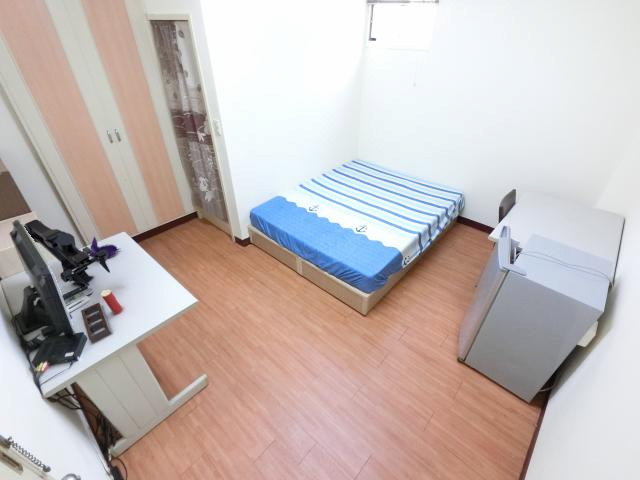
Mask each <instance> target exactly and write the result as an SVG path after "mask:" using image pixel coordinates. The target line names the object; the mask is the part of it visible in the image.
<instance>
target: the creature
mask: <svg viewBox="0 0 640 480" xmlns="http://www.w3.org/2000/svg"><path fill="white" fill-rule="evenodd" d="M90 250H91V251H92V253H90V254H89V257H90V258H94V257H95V253H97V252H99V251H101V250H105V251H106V252H107V253H108V258H107V259H109V258H112V257H113V256H115V255H116V253H117V252H118V251H119V250H120V248H118V246H116V245H115V244H114V243H113V244H112V243H111V244H110V243H109V244H108V243H106V244H102V245H101V246H99V245H98V240H97V239H96V237H95V236H93V239H92V242H91V245H90Z"/></svg>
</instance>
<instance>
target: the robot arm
mask: <svg viewBox="0 0 640 480" xmlns="http://www.w3.org/2000/svg"><path fill="white" fill-rule="evenodd" d="M23 227H25V228H26V230H27V231H28V233H29V234H30V235H31V237H32V238H33V239H34V241H35V242H34V243H38V244H39V245H41V246H42V247H43V248H44V249H45V250H46V251H47V252H49V254H51V255H52V256H53V257H54V258H55V259H57V261H59V262H60V265H61V268H62V272H60V274H59V276H60V279H61V280H62V281H63V282H64V283H68V282H70V283H71V282H72V285H73V286H79V287H84V286H88V287H89V286H90V281H91V280H92V279H93V278H94V276H91V275H89V274H88V272H86V271H88V270H89V266H91V265H92V264H94V263H96V262H98V263H99V265H100V266H101V267H102V268H103V269H104V270H105V271H106V272H107V273H109V274H110V273H111V271H110V268H109V266H108V264H107V262H106V261H107V259H109V258H108V253H107V252H106V251H105V250H101V251H99V252H97V253H95V257H90V256H89V254H90V253H92V251H91V248H89V246H85V247H83V248H82V250H80V249H79V248H78V247H77V246H76V245H77V244H76V240H75V237H74V235H73V234H71V233H70V232H69V233H68V232H65V231H64V230H63V231H62V230H60V229H58V228H55V229H54V228H53V229H52V228H50V227H49V226H47V225H45V224H44V223H43V222H42V221H41V220H39V219H38V218H36V219H32V220H30V221H28V222H26V223H25V224H24V225H23Z"/></svg>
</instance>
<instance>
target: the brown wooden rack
mask: <svg viewBox="0 0 640 480" xmlns="http://www.w3.org/2000/svg"><path fill="white" fill-rule="evenodd" d="M94 312H95V313H94ZM92 313H93V314H92ZM80 314H81V317H82V320H83V323H84V327H85V330H86V333H87V337H88V340H89V341H90V342H91V343H92V344H94V343H96V342H98V341H100V340H102V339H103V338H105V337H108V336H109V335H111V334H112V330H111V327H110V324H109V322H108V319H107V317H106V314H105V311H104V308H103V305H102V304H101V302H97V303H94V304H93V305H90V306H88V307H86V308H83V309H81V310H80ZM99 319H101V320H99ZM98 320H99V321H98ZM95 321H97V322H95ZM93 322H95V323H93ZM91 323H93V324H91ZM102 328H104V329H102ZM100 329H102V330H101V331H98V330H100ZM96 331H98V332H96ZM94 332H96V333H94Z"/></svg>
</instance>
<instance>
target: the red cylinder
mask: <svg viewBox="0 0 640 480" xmlns="http://www.w3.org/2000/svg"><path fill="white" fill-rule="evenodd" d="M100 297H102V300H103V301H104V302H105V303H106V305H107V306H108V308H109V309H110V310H111V312H112V313H113V314H114V315H118V314H120V313H121V312H122V311H123V307H122V305H121V304H120V303H119V301H118V300H117V298H116V296H115V295H114V294H113V292H112V291H111V289H104V290H102V291H101V293H100Z"/></svg>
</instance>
